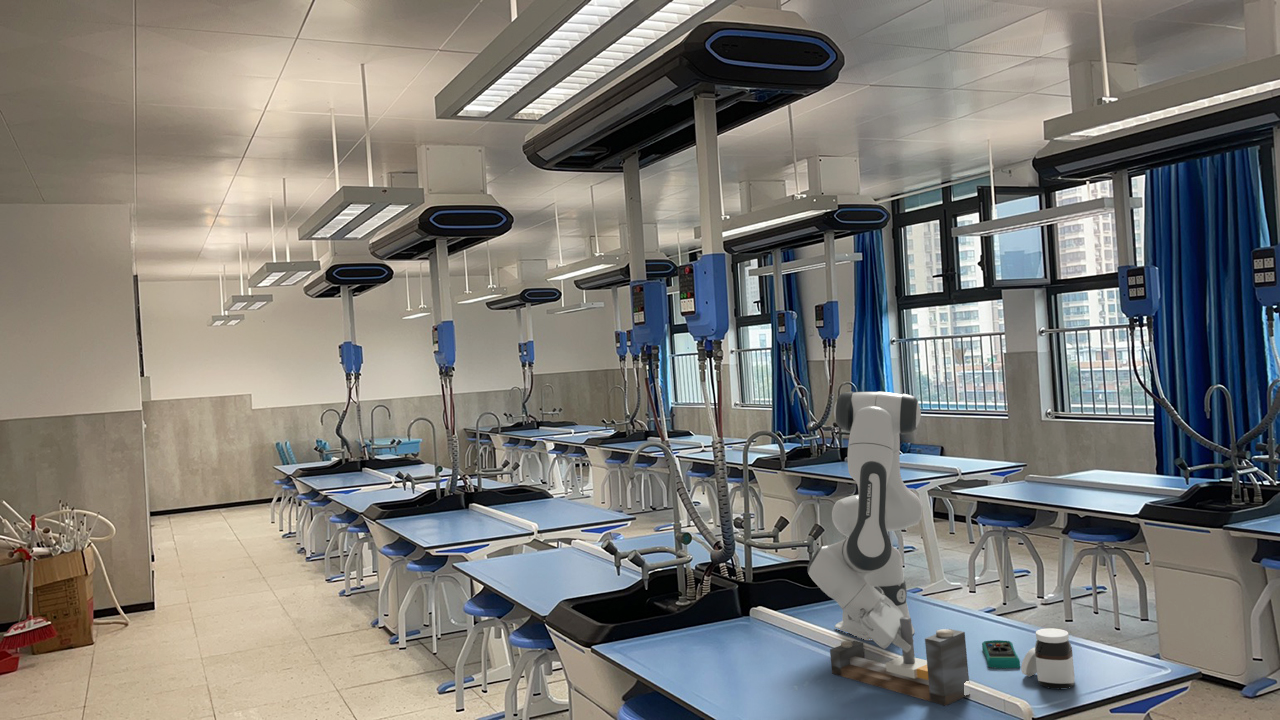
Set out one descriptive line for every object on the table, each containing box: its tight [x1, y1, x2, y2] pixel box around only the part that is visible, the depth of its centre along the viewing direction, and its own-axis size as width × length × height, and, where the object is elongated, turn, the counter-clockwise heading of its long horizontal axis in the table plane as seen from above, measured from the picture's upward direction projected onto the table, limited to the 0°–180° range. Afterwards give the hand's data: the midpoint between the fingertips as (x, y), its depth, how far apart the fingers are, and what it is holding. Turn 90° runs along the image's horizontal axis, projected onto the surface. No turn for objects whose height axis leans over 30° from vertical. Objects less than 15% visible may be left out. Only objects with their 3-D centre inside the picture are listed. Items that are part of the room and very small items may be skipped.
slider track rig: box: [829, 628, 970, 707], centre depth 220 cm, size 33×9×15 cm, turn 36°
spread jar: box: [1020, 627, 1076, 690], centre depth 213 cm, size 12×11×12 cm
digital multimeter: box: [981, 639, 1021, 669], centre depth 231 cm, size 7×15×3 cm, turn 165°
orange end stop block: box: [917, 665, 929, 680], centre depth 212 cm, size 3×5×2 cm, turn 126°
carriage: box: [885, 616, 927, 679], centre depth 217 cm, size 8×7×12 cm
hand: (910, 647), depth 217 cm, fingers closed on carriage, 3 cm apart
